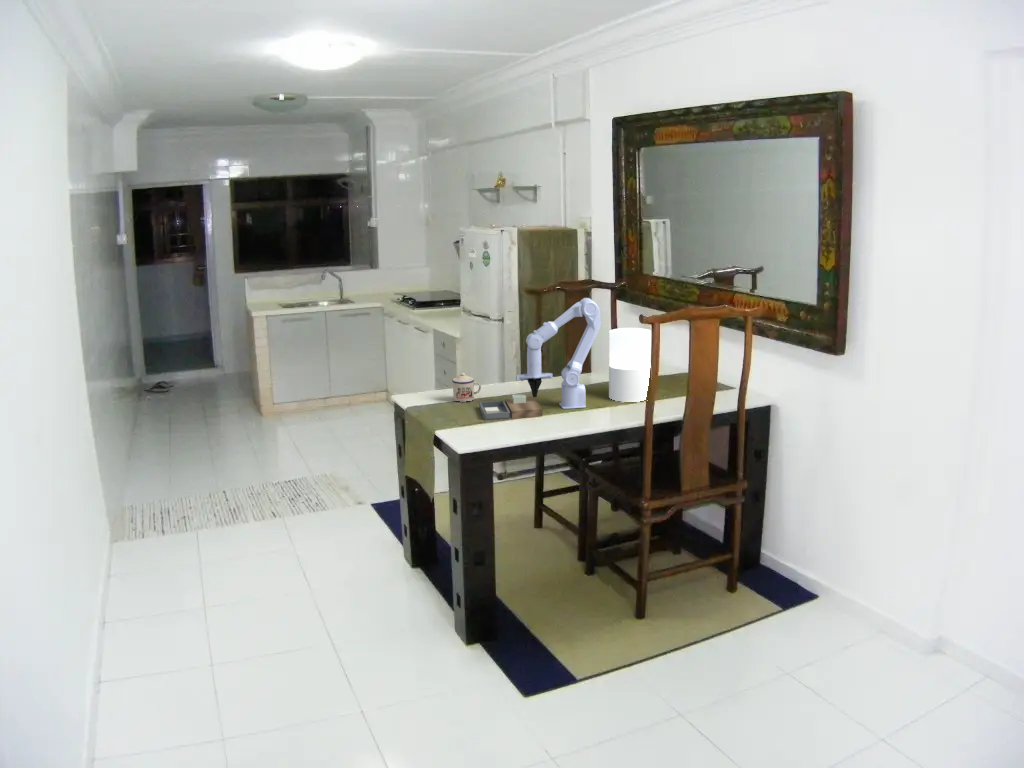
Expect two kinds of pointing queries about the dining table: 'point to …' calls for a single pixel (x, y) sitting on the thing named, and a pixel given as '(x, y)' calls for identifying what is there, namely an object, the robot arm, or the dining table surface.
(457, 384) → the teacup with lid
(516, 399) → the sage tile
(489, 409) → the cream tile
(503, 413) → the box
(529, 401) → the walnut plate
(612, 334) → the cylinder
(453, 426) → the dining table surface
